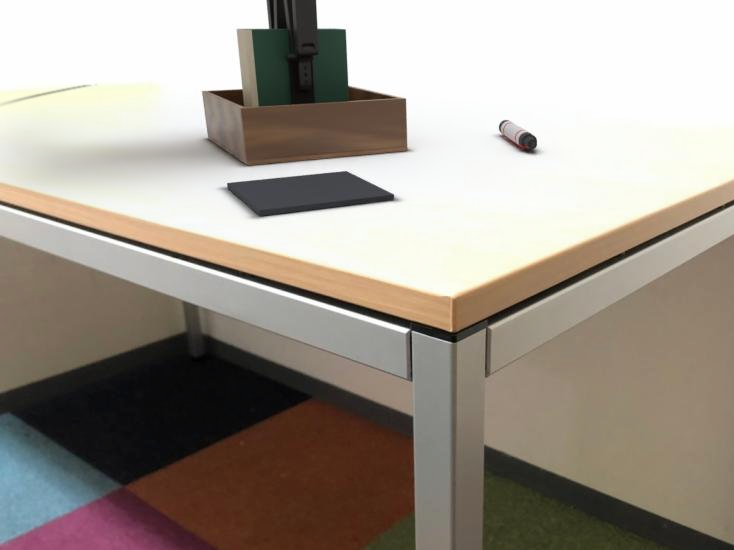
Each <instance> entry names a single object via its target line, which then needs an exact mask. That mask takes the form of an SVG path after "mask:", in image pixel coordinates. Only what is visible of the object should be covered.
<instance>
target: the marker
mask: <svg viewBox="0 0 734 550" xmlns="http://www.w3.org/2000/svg"><path fill="white" fill-rule="evenodd" d="M498 131H499V133H501V134H502V136H504V137H506V138H507V139H509V140H510V141H511V142H513V143H514V144H515V145H517V146H518V147H519V148H521V149H523V150H525V151H527V152H528V151H529V152H530V151H533V150H535V149H536V148H537V146H538V139H537V136H535V135H534V134H533V133H531V132H529V131H528V130H526V129H524V128H523V127H521V126H520V125H517V124H516V123H514V122H513V121H511V120H508V119H504V120H502V121H501V122H499V125H498Z"/></svg>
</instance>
